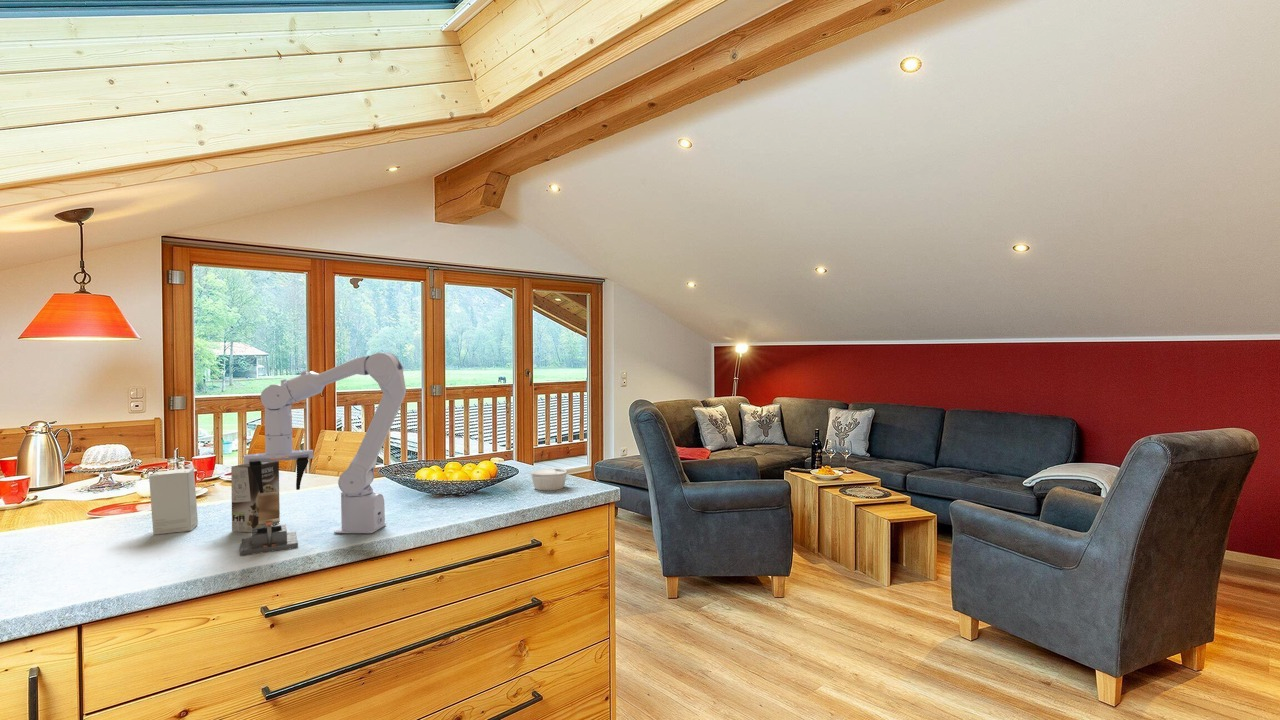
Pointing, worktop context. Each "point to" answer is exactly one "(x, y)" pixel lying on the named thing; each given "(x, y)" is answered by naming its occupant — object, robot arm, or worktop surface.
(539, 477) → the ramekin
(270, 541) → the sleeve stand
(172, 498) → the skincare box
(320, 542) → the worktop surface
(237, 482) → the coffee box
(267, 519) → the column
